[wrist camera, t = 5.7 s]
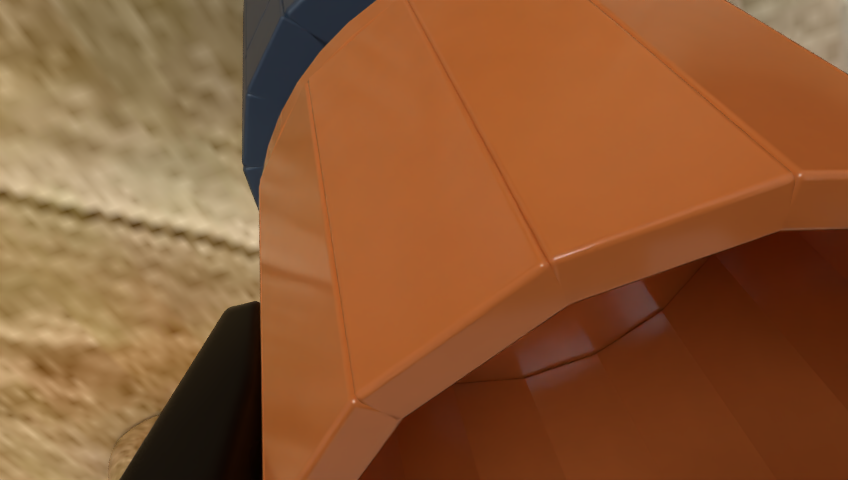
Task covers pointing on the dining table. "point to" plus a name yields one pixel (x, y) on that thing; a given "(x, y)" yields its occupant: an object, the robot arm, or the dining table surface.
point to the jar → (281, 63)
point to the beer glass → (128, 448)
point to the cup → (557, 248)
